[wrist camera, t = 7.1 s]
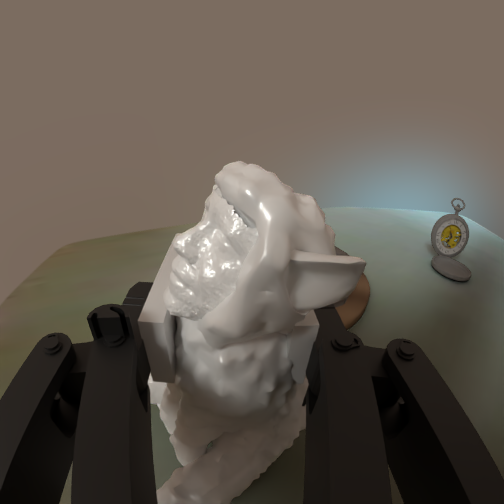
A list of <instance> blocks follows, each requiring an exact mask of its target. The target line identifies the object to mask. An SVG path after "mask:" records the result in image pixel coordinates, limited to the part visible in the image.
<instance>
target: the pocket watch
mask: <svg viewBox="0 0 504 504" xmlns="http://www.w3.org/2000/svg"><path fill="white" fill-rule="evenodd" d="M456 199H457V200H461V199H459V198H454V199H453V200H452V201H451V204H452V206H453V207H454V209H455V210H456V213H455V214H447V215H444V216H442V217H441V218H440V219H439V220H438V221H437V222H436V223H435V225H434V227H433V229H432V233H431V241H432V246H433V248H434V249H435V251H436V252H437V253H438V254H439V256H435V257H433V258H432V262H431V263H432V266H433V267H434V269H436V270H437V271H438V272H439V273H440V274H442V275H444V276H446V277H448V278H450V279H453V280H456V281H467V280H469V278H470V277H471V272H470V270H469V269H468V268H467V267H466V266H465V265H463V264H462V263H460V262H458V261H456V260H454V259H451V257H453V256H456V255H458V254H459V253H461V251H462V250H463V249H464V248H465V246H466V244H467V242H468V238H469V229H468V225H467V223H466V222H465V220H464V219H463V218H462V217H460V216H459V215H458V212H459V211H461V210H463V209H464V208H465V203H464V202H463V200H461V201H462V202H463V204H464V206H463V208H460V205H459V204H458V205H457V206H456V207H455V206H454V205H453V201H454V200H456ZM456 232H459V234H458V235H457V233H456ZM441 236H442V237H443V238H442V239H441ZM455 236H457V237H455ZM458 236H459V237H458ZM448 237H449V239H448ZM445 238H447V239H445ZM455 238H456V239H457V241H456V242H455V241H454V239H455ZM456 239H455V240H456ZM444 240H446V241H445V242H446V243H448V244H449V245H450V246H448V244H447V246H444V245H443V244H442V243H441V241H444Z"/></svg>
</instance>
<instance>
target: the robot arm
mask: <svg viewBox="0 0 504 504" xmlns="http://www.w3.org/2000/svg"><path fill="white" fill-rule="evenodd" d="M180 234H182V233H176V235H175V237H174V239H175V238H176V237H177V236H179V235H180ZM174 239H173V241H172V243H171V246H170V248H169V250H168V252H167V254H166V256H165V259H164V261H163V263H162V265H161V267H160V270H159V272H158V274H157V276H156V279H155V281H154V283H150V282H138V283H137V284H135V285H134V286H133V287H132V288H130V290H129V292H128V294H127V296H126V298H125V299H124V301H123V305H117V304H107V305H102V306H100V307H97V308H95V309H94V310H93V311H91V312H90V313H89V315H88V317H87V320H88V324H89V327H90V329H91V332H92V335H93V338H94V341H92V342H87V343H77V344H72V342H71V340H70V338H69V337H68V336H67V335H65V334H63V333H52V334H48V335H47V336H45V337H43V338H42V339H41V340H40V341H39V342H38V343H37V345H36V346H35V347H34V349H33V350H32V352H31V353H30V354H29V356H28V357H27V359H26V360H25V362H24V363H23V365H22V366H21V368H20V369H19V371H18V372H17V374H16V375H15V377H14V379H13V380H12V382H11V383H10V385H9V387H8V388H7V390H6V391H5V393H4V395H3V396H2V398H1V400H0V504H59V502H60V499H61V495H62V492H63V489H64V485H65V482H66V479H67V476H68V473H69V470H70V467H71V464H72V461H73V468H72V489H71V504H158V502H157V494H156V485H155V475H154V464H153V451H152V435H151V406H150V389H149V385H148V380H149V376H150V372H151V376H152V379H153V381H154V382H164V383H175V377H176V372H175V371H176V354H175V342H174V335H175V332H176V331H177V324H176V321H175V317H176V316H175V315H170V311H168V310H167V309H166V305H165V303H164V300H163V294H164V291H165V289H166V288H167V287H168V286H169V277H170V273H171V271H172V261H173V260H174V259H175V257H177V255H178V254H177V253H176V251H175V250H174V248H173V242H174ZM286 335H287V358H288V359H290V360H291V361H292V362H293V363H292V367H291V373H292V378H293V385H295V384H303V382H304V379H305V376H307V380H308V383H309V385H308V388H307V391H306V394H305V397H304V400H303V403H302V406H305V405H306V448H305V479H304V499H303V504H392V497H391V488H390V479H389V471H388V465H389V467H390V470H391V472H392V475H393V477H394V479H395V482H396V484H397V487H398V489H399V492H400V494H401V497H402V499H403V502H404V504H504V480H503V478H502V476H501V474H500V472H499V470H498V468H497V466H496V464H495V462H494V461H493V459H492V457H491V455H490V453H489V452H488V450H487V448H486V446H485V445H484V443H483V441H482V440H481V438H480V436H479V434H478V433H477V431H476V429H475V428H474V426H473V425H472V423H471V421H470V420H469V418H468V417H467V415H466V413H465V412H464V410H463V409H462V407H461V406H460V404H459V403H458V401H457V400H456V398H455V396H454V395H453V393H452V392H451V391H450V389H449V388H448V386H447V385H446V383H445V382H444V380H443V379H442V377H441V376H440V375H439V373H438V372H437V370H436V369H435V367H434V366H433V365H432V363H431V362H430V360H429V359H428V358H427V356H426V355H425V354H424V352H423V351H422V350H421V348H420V347H419V346H418V345H417V344H415V343H414V342H412V341H410V340H406V339H395V340H392V341H391V342H390V343H389V344H388V346H387V348H386V349H381V348H374V347H368V346H364V345H363V343H362V341H361V339H360V338H359V337H358V336H356V335H355V334H353V333H351V332H349V331H347V330H346V328H345V326H344V324H343V322H342V320H341V318H340V316H339V314H338V312H337V310H336V309H335V306H334V304H330V305H327V306H324V307H321V308H318V309H312V310H311V311H310V312H309V313H308V314H307V315H306V317H305V319H304V320H302V321H300V322H298V323H296V324H295V326H294V327H293V329H292V331H291V332H290V333H287V334H286ZM401 397H402V398H401ZM402 399H403V400H402ZM387 463H388V464H387Z"/></svg>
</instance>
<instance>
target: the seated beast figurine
mask: <svg viewBox="0 0 504 504" xmlns="http://www.w3.org/2000/svg"><path fill="white" fill-rule="evenodd" d="M215 182H216V184H215V185H214V186H213V191H212V194H211V195H210V196H209V197H208V198H207V199H206V202H205V210H204V214H203V217H202V220H201V221H200V222H199V223H198V224H197V226H195V227H193V228H191V229H189V230H187V231H185V232H184V233H182V234H180V235H179V236H177V237H176V238H175V239H174V242H173V248H174V250H175V251H176V253H177V254H178V255H177V257H175V259H174V260H173V261H172V271H171V273H170V277H169V286H168V287H167V288H166V289H165V291H164V294H163V300H164V303H165V305H166V309H167V310H168V311H170V315H175V316H176V317H175V321H176V324H177V331H176V332H175V335H174V342H175V354H176V371H175V372H176V377H175V383H164V382H154V381H153V379H152V376H151V372H150V376H149V380H148V385H149V389H150V404H157V406H158V407H159V409H160V418H161V420H162V421H163V422H164V425H165V427H166V429H167V431H168V432H169V433H170V434H171V436H170V438H169V440H170V442H171V443H172V445H173V446H174V449H175V453H176V457H177V459H178V461H179V462H180V463H181V465H183V466H184V467H180V468H177V469H175V470H174V471H173V473H172V475H171V477H170V479H169V480H167V481H166V482H164V484H163V486H162V487H161V488H160V489H158V490H157V491H156V494H157V502H158V504H230V503H231V501H232V499H233V498H234V497H237V496H240V495H241V494H242V492H243V491H244V490H245V489H247V488H248V487H249V486H250V485H251V483H252V481H253V480H255V479H258V478H259V477H260V473H263V472H266V470H267V468H268V466H270V465H271V463H272V462H274V461H276V460H277V457H279V456H280V455H281V454H282V452H283V451H284V450H285V449H288V448H290V447H291V446H292V445H293V440H294V439H295V438H297V437H299V431H301V430H304V429H305V428H306V405H305V406H302V403H303V400H304V397H305V394H306V391H307V388H308V385H309V383H308V380H307V378H306V376H305V379H304V382H303V384H295V385H293V378H292V373H291V367H292V363H293V362H292V361H291V360H290V359H288V358H287V335H286V334H287V333H290V332H291V331H292V329H293V327H294V326H295V324H296V323H298V322H300V321H302V320H304V319H305V317H306V315H307V314H308V313H309V312H310V311H311V310H312V309H318V308H321V307H324V306H327V305H330V304H333V303H336V302H338V301H340V300H342V299H344V298H346V297H348V296H349V295H350V294H351V293H352V292H353V291H354V290H355V288H356V285H357V283H358V281H359V279H360V277H361V275H362V273H363V272H364V269H365V266H366V262H365V261H364V260H363V259H362V258H358V257H352V256H338V255H336V251H335V245H334V241H335V233H334V232H333V230H332V228H331V226H328V225H326V224H325V214H324V212H323V211H322V210H321V208H320V207H319V206H318V205H317V202H316V199H315V198H313V197H311V196H309V195H304V194H298V193H294V191H293V189H292V187H290V186H288V185H285V184H283V183H282V182H281V181H280V180H279V179H278V177H277V175H276V174H275V173H272V172H268V171H266V170H264V169H263V168H261V167H260V166H258V165H256V164H249V165H248V164H246V163H245V162H242V161H238V162H233V163H229V164H227V165H225V166H224V167H223V169H222V171H220V172H219V173H218V174H216V176H215ZM211 441H212V445H213V446H211V447H209V448H208V449H207V446H208V444H209V443H210V442H211Z"/></svg>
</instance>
